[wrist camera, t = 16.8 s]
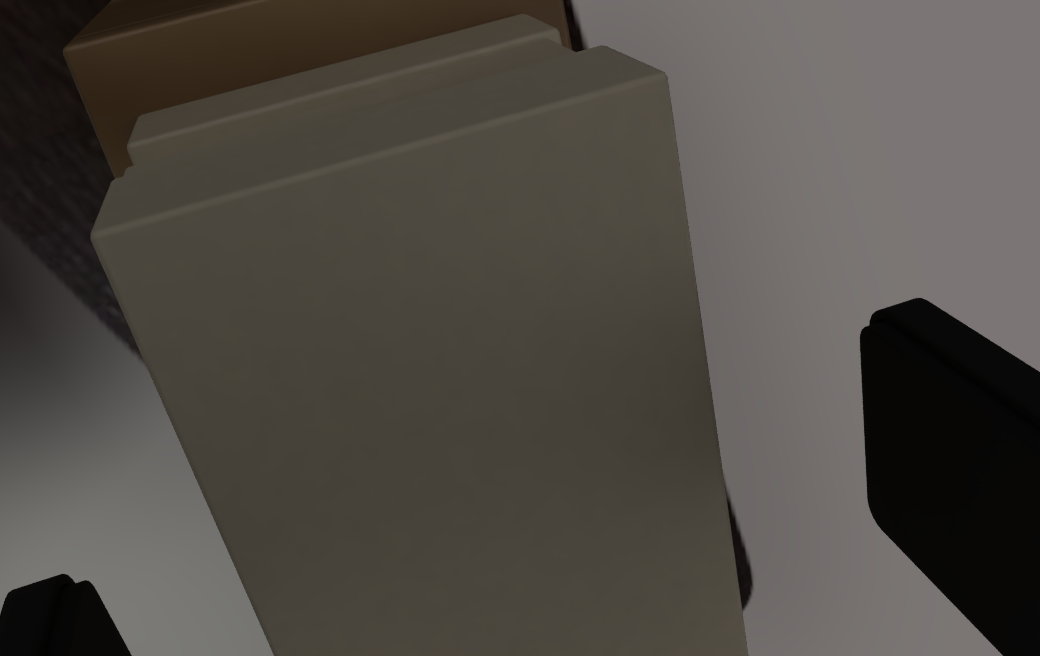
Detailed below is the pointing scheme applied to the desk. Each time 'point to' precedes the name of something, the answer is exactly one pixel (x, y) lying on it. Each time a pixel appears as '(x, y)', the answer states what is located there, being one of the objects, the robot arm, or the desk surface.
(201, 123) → the cream books
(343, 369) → the cream book
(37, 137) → the desk surface
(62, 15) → the desk surface
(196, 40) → the book stand
